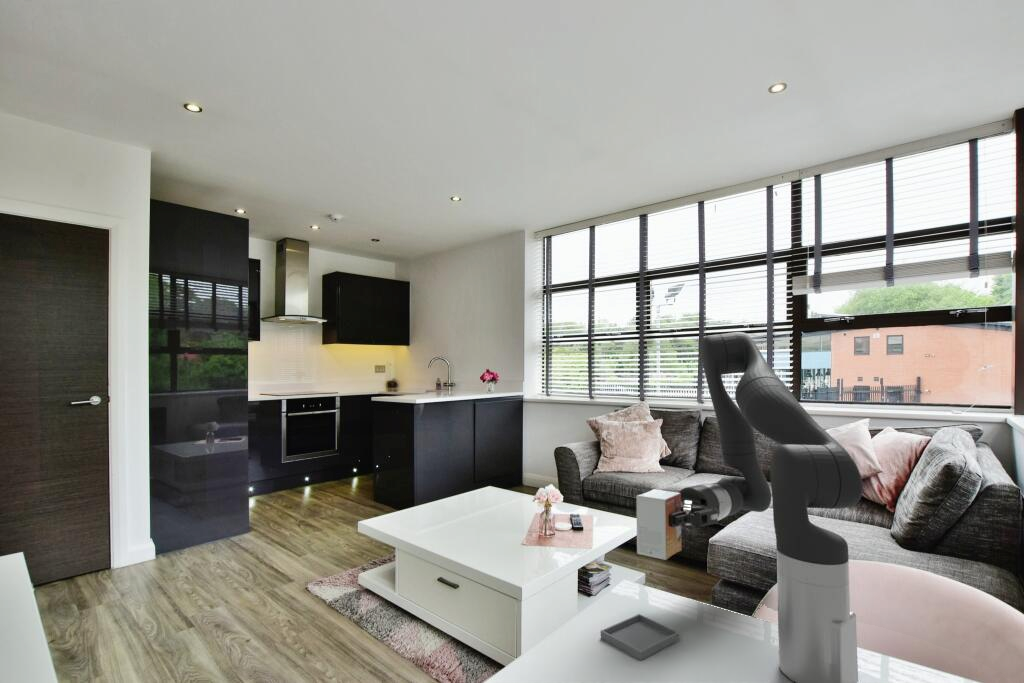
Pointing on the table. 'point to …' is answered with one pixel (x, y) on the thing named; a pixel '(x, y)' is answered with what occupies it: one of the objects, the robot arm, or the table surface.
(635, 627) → the tray
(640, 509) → the small box
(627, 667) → the table surface
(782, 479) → the robot arm
